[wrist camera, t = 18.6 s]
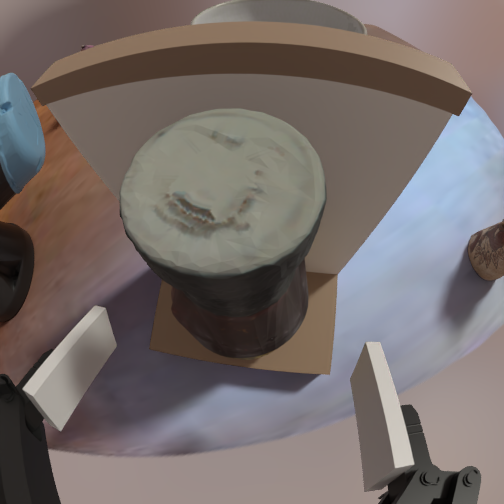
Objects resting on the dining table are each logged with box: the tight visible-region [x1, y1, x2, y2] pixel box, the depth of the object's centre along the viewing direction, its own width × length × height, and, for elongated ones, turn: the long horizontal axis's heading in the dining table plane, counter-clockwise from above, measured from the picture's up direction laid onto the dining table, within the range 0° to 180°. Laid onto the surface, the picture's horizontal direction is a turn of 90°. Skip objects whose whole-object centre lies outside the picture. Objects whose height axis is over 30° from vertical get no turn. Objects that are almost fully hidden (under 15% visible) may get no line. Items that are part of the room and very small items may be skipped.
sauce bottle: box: [120, 108, 327, 360], centre depth 14 cm, size 7×6×20 cm
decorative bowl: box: [191, 0, 367, 35], centre depth 35 cm, size 27×27×12 cm
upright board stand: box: [31, 21, 472, 375], centre depth 16 cm, size 17×11×23 cm, turn 83°
